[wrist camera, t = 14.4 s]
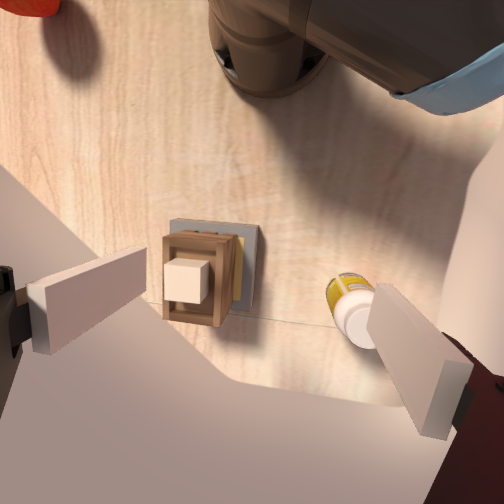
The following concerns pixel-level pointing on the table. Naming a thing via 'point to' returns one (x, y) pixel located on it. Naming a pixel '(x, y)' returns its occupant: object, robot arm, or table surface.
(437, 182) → the table surface
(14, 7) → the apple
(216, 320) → the stained wood crate
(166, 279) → the block
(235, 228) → the dock
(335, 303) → the pill bottle
